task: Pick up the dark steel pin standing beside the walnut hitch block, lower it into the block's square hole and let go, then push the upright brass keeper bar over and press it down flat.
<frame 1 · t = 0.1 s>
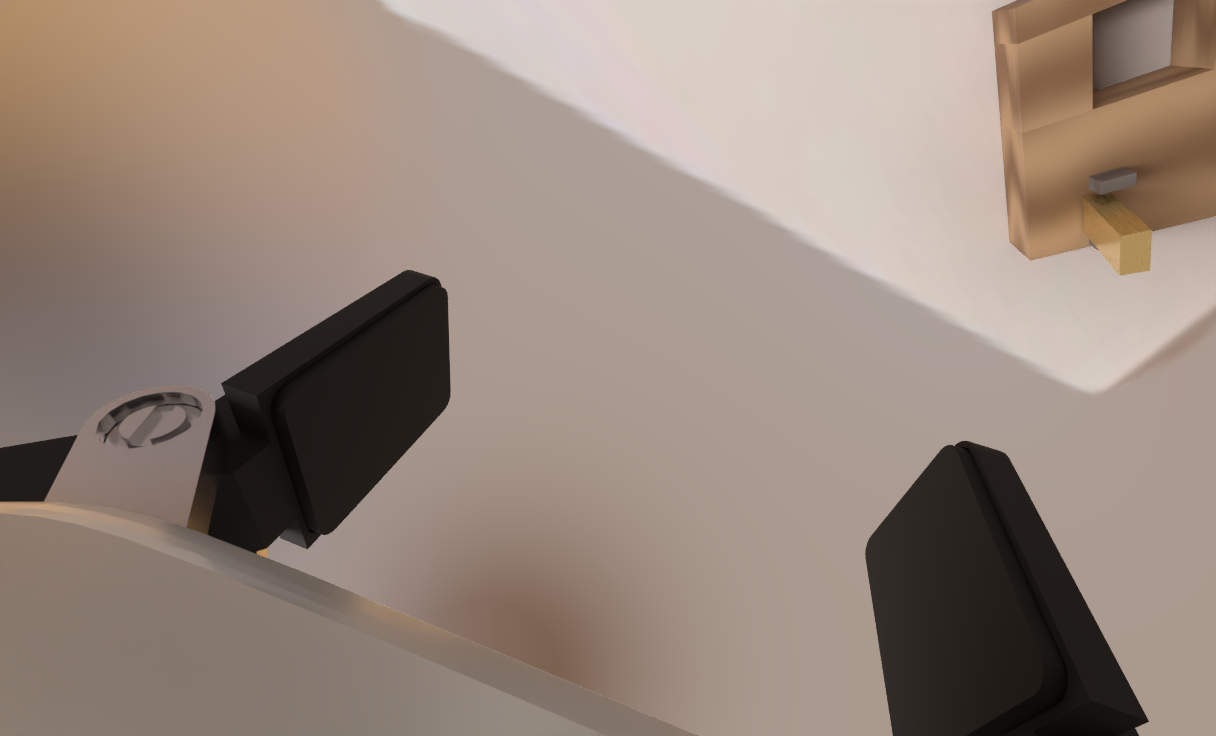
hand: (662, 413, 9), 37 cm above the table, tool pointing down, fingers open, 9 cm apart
keeper bar: (1113, 230, 30), point 8 cm above the table, hinge at 98.0°
hitch block: (1114, 99, 32), on the table
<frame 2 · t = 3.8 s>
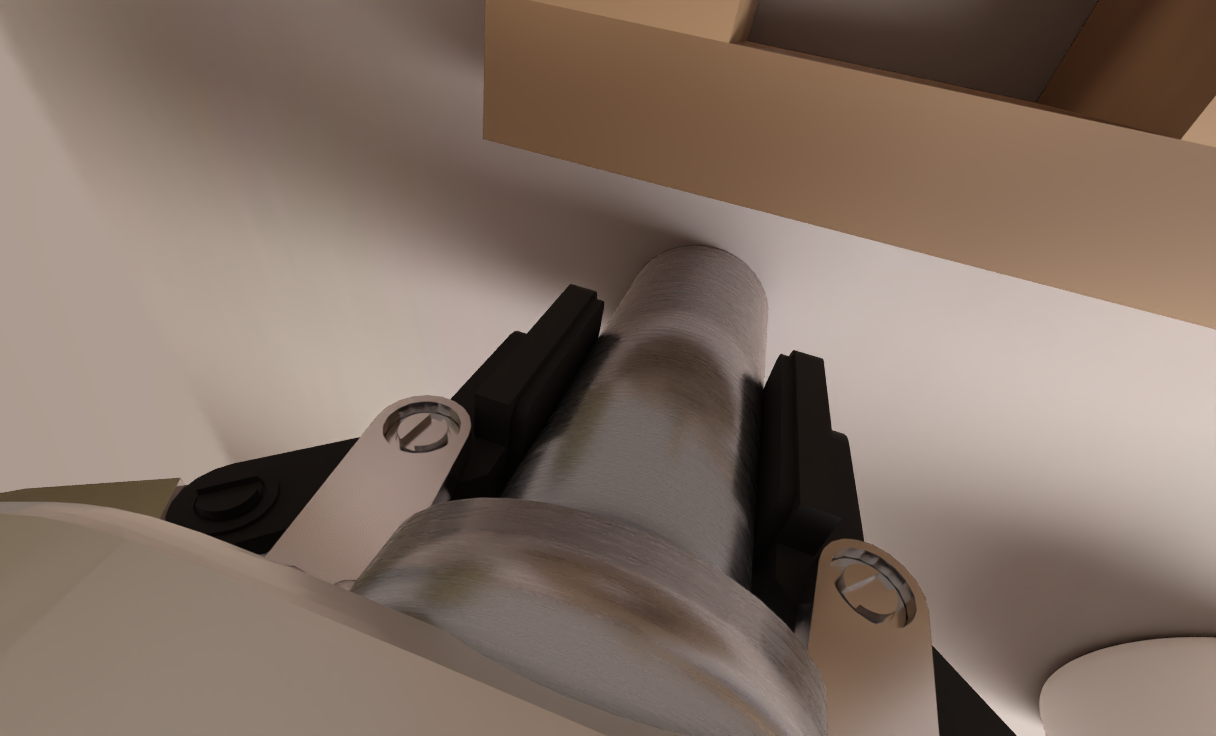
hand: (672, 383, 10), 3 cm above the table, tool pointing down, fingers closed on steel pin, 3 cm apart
steel pin: (695, 312, 13), on the table, touching gripper
pill bottle: (1190, 698, 15), on the table
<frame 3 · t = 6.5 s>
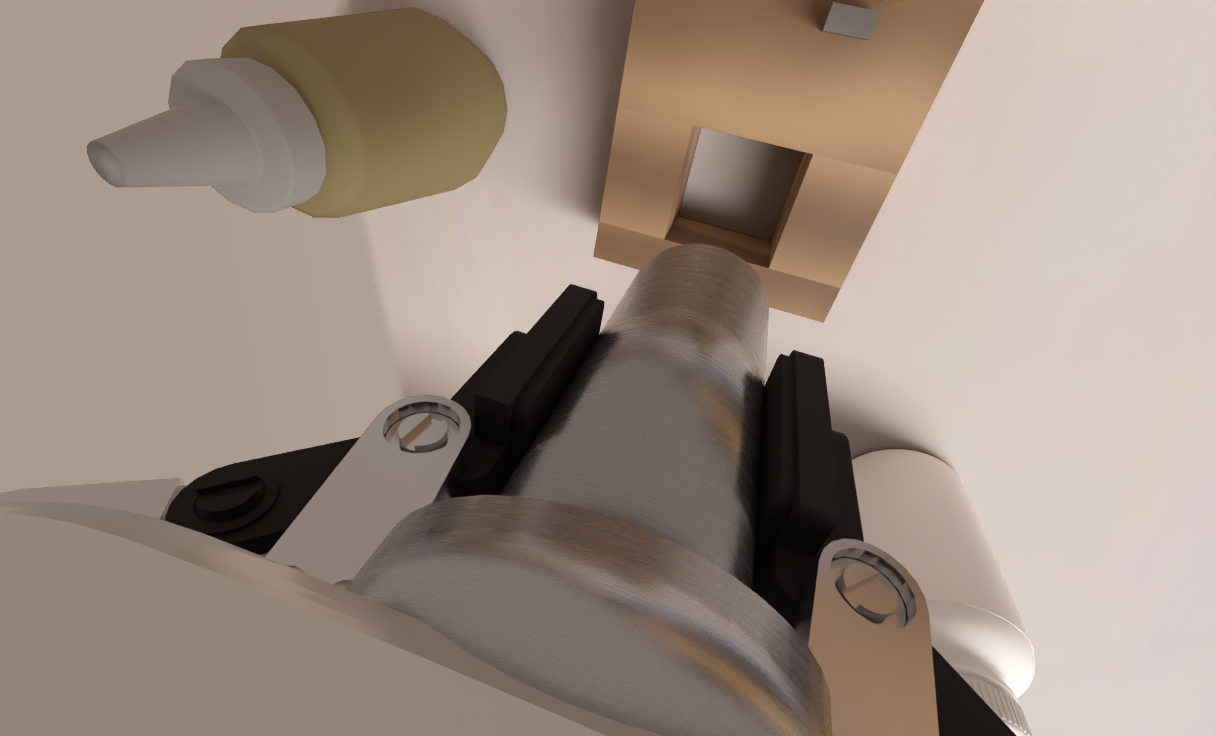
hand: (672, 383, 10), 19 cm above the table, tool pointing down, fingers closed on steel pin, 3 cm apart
squeeze bottle: (462, 99, 28), on the table
hitch block: (762, 106, 24), on the table
steel pin: (695, 311, 13), point 16 cm above the table, touching gripper
pill bottle: (893, 487, 33), on the table
when the fingers open (5 cm above the table, at t = 9.1 s): steel pin drops 2 cm, resting in hitch block.
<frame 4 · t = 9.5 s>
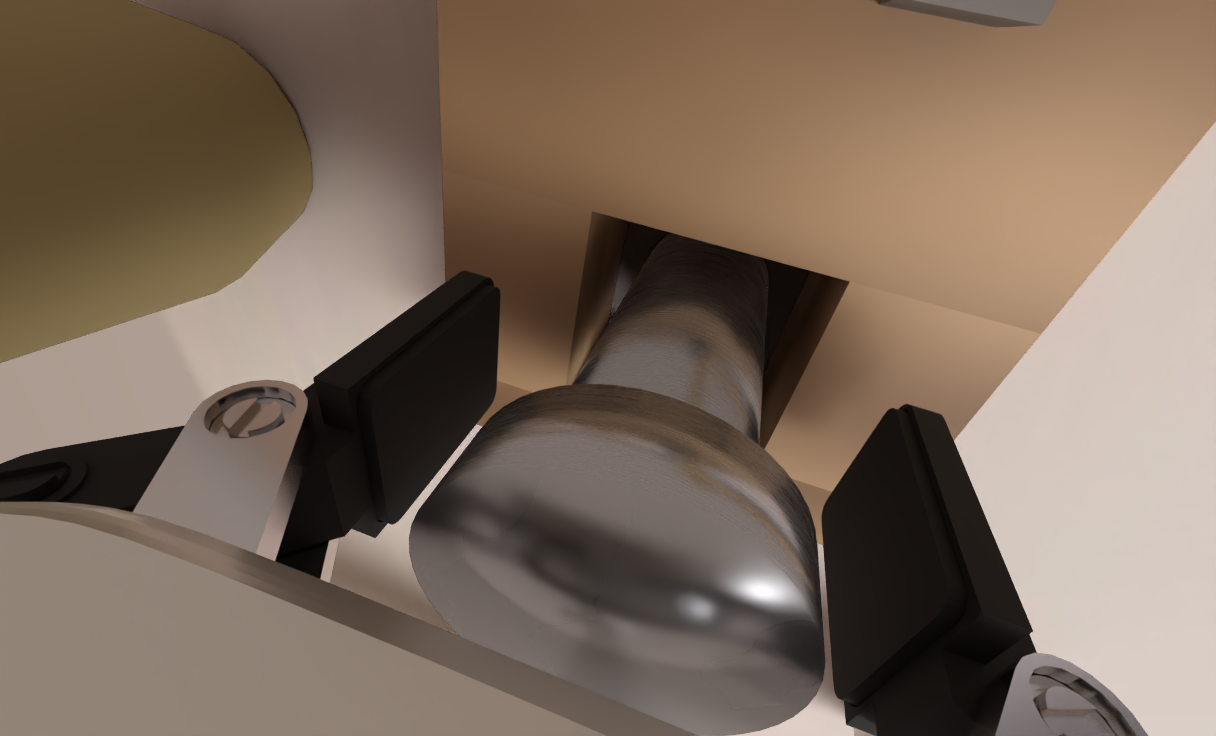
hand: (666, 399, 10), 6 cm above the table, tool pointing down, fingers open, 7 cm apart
squeeze bottle: (245, 134, 17), on the table
hitch block: (744, 157, 12), on the table
steel pin: (703, 284, 14), resting in hitch block
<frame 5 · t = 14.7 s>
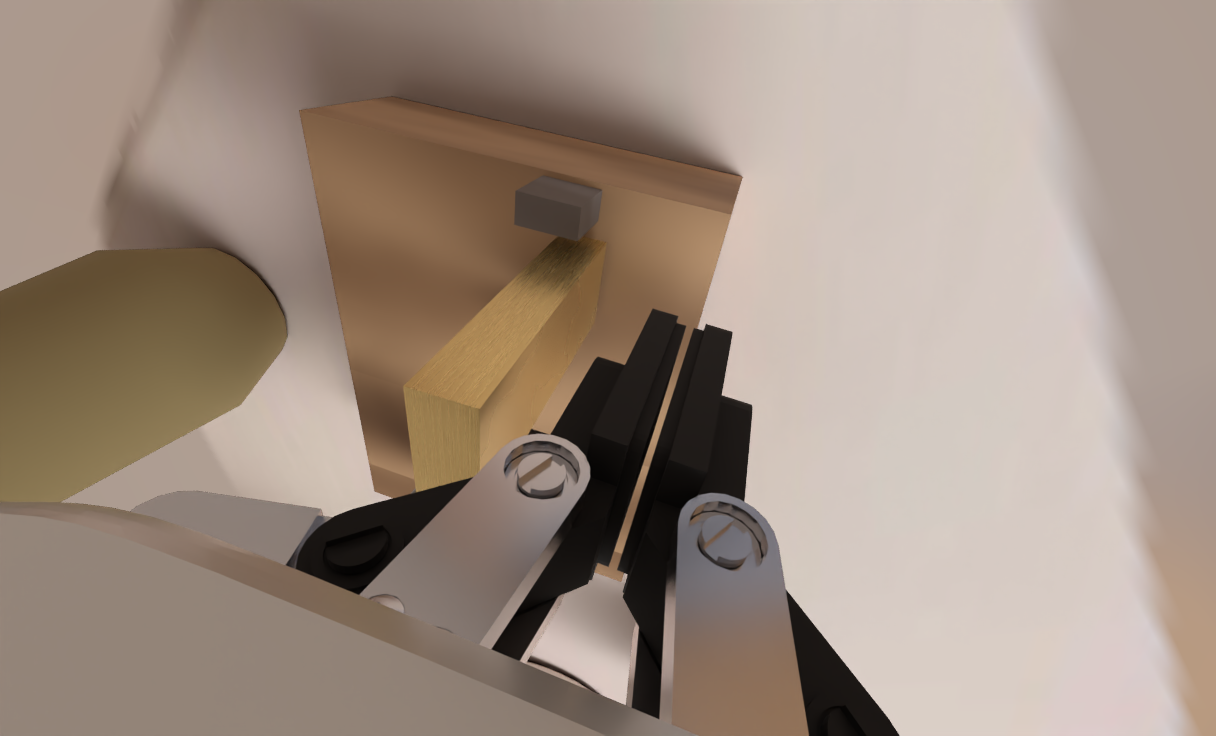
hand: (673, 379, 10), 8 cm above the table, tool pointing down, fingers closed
squeeze bottle: (242, 301, 25), on the table
keeper bar: (529, 343, 11), point 8 cm above the table, hinge at 91.8°, touching gripper
hitch block: (540, 341, 20), on the table
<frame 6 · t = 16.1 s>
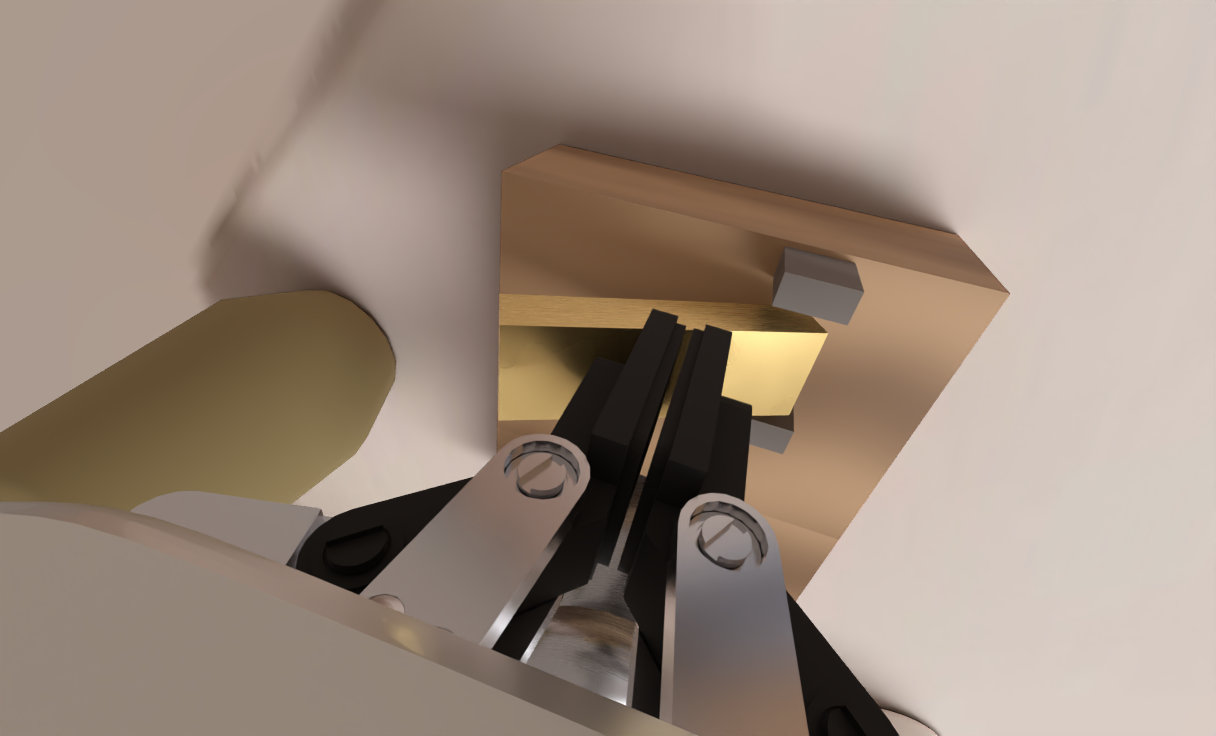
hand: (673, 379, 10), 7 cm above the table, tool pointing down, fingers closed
squeeze bottle: (347, 342, 24), on the table
keeper bar: (657, 360, 11), point 7 cm above the table, hinge at 27.3°, touching gripper
hitch block: (684, 392, 19), on the table
steel pin: (664, 455, 22), resting in hitch block
pill bottle: (870, 733, 29), on the table
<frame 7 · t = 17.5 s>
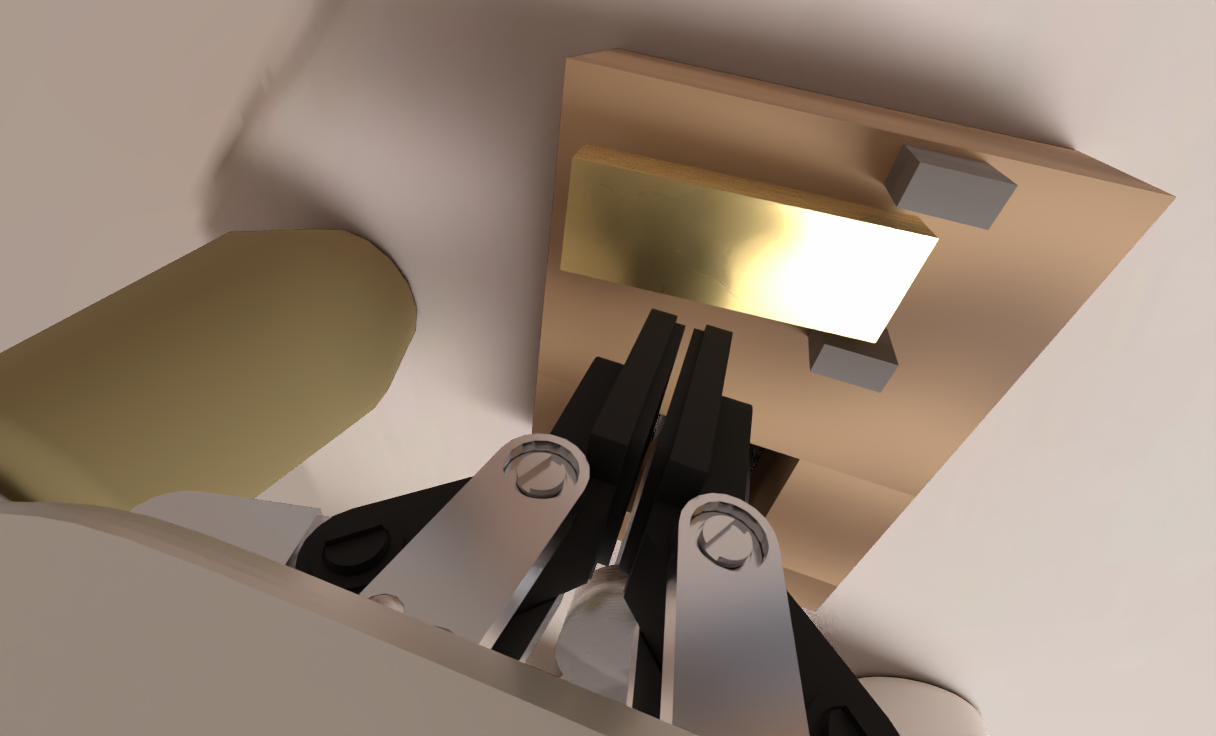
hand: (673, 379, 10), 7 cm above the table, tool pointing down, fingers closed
squeeze bottle: (364, 289, 22), on the table
keeper bar: (731, 244, 11), point 5 cm above the table, hinge at 6.4°
hitch block: (736, 342, 18), on the table
steel pin: (708, 413, 20), resting in hitch block
pill bottle: (901, 706, 28), on the table
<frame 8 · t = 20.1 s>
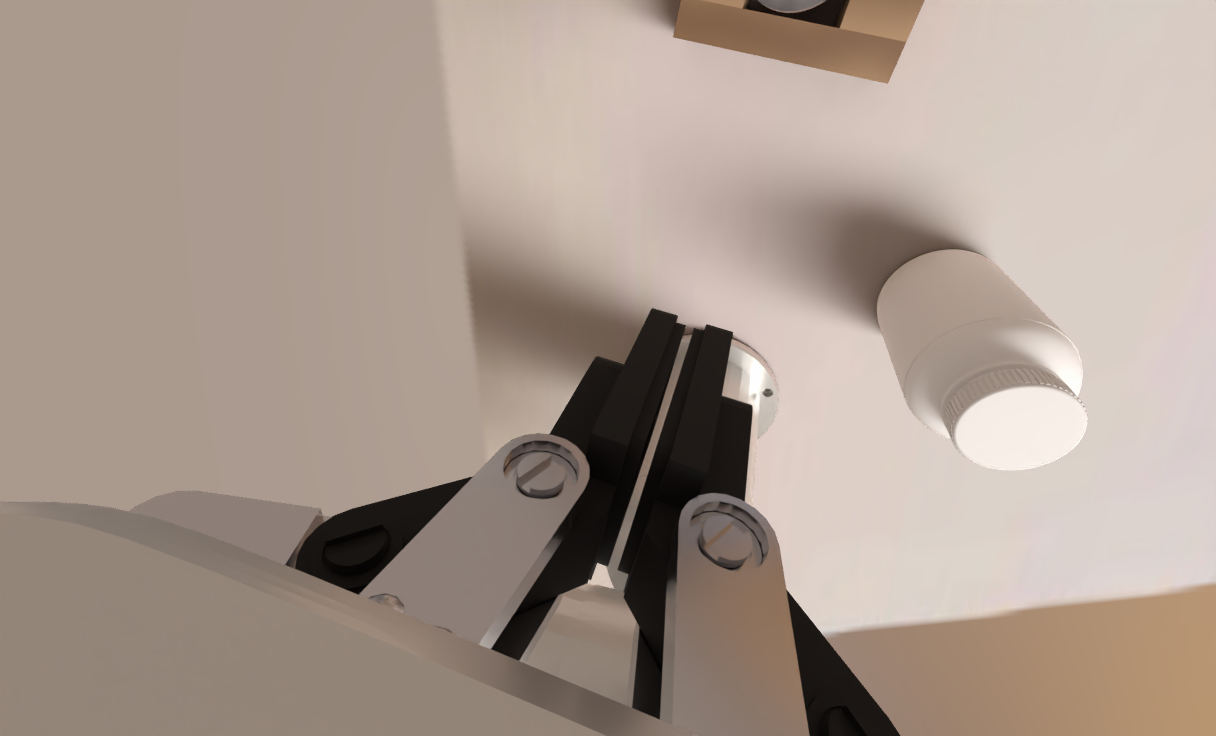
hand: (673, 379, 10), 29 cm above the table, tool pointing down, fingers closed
pill bottle: (936, 297, 36), on the table
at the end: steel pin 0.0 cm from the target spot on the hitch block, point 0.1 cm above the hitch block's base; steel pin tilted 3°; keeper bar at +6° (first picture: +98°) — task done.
